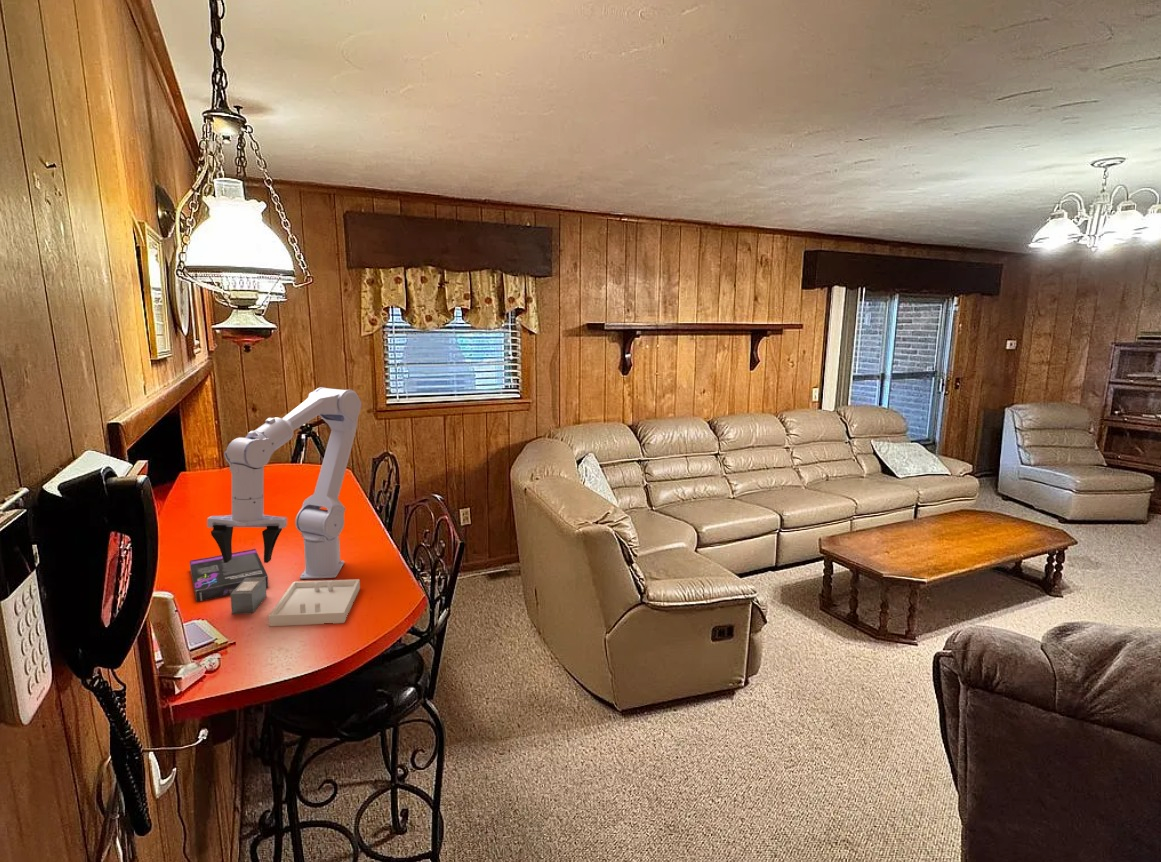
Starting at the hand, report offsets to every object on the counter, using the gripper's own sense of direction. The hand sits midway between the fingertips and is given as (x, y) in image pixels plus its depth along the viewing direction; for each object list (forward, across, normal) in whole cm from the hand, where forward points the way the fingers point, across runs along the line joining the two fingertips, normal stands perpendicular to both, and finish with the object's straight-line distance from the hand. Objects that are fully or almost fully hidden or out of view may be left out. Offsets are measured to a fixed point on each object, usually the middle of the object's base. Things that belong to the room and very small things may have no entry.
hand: (247, 561), depth 125 cm
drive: (+10, 0, +1) cm, 10 cm away
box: (+10, -9, +15) cm, 20 cm away
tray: (+9, +14, -1) cm, 17 cm away
